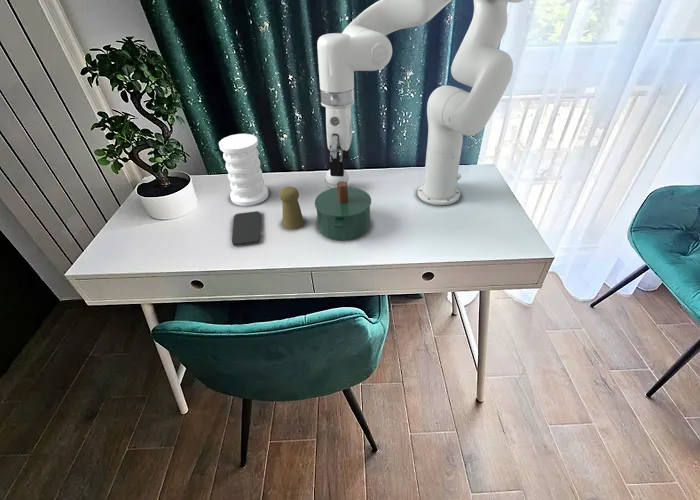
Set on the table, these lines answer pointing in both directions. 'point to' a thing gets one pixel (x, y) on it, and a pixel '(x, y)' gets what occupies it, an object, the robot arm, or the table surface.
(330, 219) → the pot
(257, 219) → the phone
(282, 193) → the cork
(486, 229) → the table surface
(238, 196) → the decorative container
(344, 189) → the lid
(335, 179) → the white rounded upright piece
